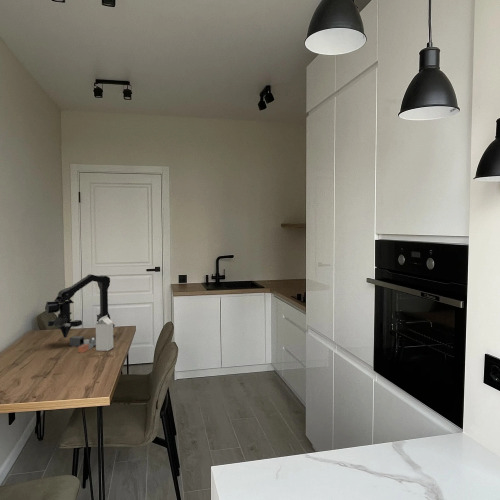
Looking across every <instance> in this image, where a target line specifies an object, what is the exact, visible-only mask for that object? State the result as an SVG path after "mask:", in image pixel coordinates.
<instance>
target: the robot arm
mask: <svg viewBox="0 0 500 500" xmlns="http://www.w3.org/2000/svg"><path fill="white" fill-rule="evenodd" d="M92 282H95V283H97V287H98V288H99V308H100V310H99V314H96V322H97V323H98V322H99V319H101V317H104V316H106V315H107V317H108V318H109V319H110V320H111V321H112V319H111V315H110V313H109V299H108V298H109V297H108V292H109V291H108V290H109V287H110V285H111V284H110V283H111V278H110V276H108V275H101V274H100V275H95V274H89V273H88V274H87V275H86V276H85V277H83V278H81V279H80V280H78V282H76V283H74V284H73V285H71V286H69V287H66V288H63V289H61V290H60V291H58V294H57V296H56V298H55V299H54V301H53V300H52V301H46V304H45V306H44V311H45V313H46V315H47V314H56V313H58V312H59V313H58V315H57V317H56V318H55V319H51V320H49V321H48V322H47V326H48V327H57V328H58V329H60V331H61V333H62V335H63V338H64V339H65V338H67V337H68V334H69V332H70V330H71V328H72V327H77V328H78V327H80V326H82V325H83V321H82V320H80V319H79V320H78V319H76V320H72V318H71V315H72V312H71V304H74V301H73V300H72V298H73V297H74V296H75V294H76V293H77V292H79V291H80V290H81V289H83V288H85V287H86V286H88V284H90V283H92ZM114 328H115V324H114V323H113V329H114ZM113 337H115V335H114V334H113Z"/></svg>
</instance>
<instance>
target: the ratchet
mask: <svg viewBox="0 0 500 500" xmlns="http://www.w3.org/2000/svg"><path fill="white" fill-rule="evenodd" d="M94 347H96V336H95V337H94V336H93V337H92V336H91V337H90V338H87V339H84V344H83V345H81V346H79V347H78V353H82V354H83V353H85V352H87V351H89V350H91V349H92V348H94Z"/></svg>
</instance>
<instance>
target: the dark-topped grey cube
mask: <svg viewBox="0 0 500 500" xmlns="http://www.w3.org/2000/svg"><path fill="white" fill-rule="evenodd" d="M84 340H85V336H84V335H74V336H72V337H69V347H72V346H76V347H77V348H79V346H81V345H83V344H84Z"/></svg>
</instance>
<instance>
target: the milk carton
mask: <svg viewBox="0 0 500 500" xmlns="http://www.w3.org/2000/svg"><path fill="white" fill-rule="evenodd" d="M110 319H111V318H110ZM110 319H109V318H108V317H107V315H106V316H104V317H101V319H99V322H98V321H97V323H96V324H95V337H96V346H95V350H96V351H97V352H99V351H100V352H101V351H102V352H103V351H104V352H105V351H106V352H108V351H110V350H112V349H114V336H113V335H114V328H113V324H114V322H113V321H112V319H111V320H110Z"/></svg>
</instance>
